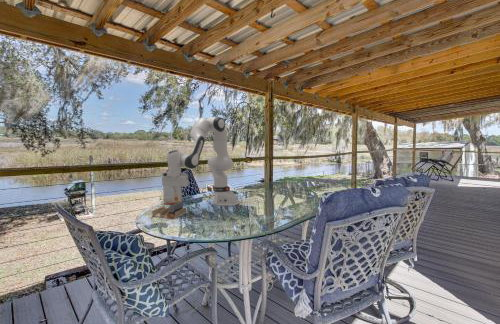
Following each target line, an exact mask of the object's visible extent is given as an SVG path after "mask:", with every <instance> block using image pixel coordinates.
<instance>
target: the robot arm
mask: <svg viewBox="0 0 500 324" xmlns="http://www.w3.org/2000/svg"><path fill="white" fill-rule="evenodd" d="M208 132H213V151H214V152H215V154H216V156H212V157H211V156H210V158H208V160H207V166H208V168H210V170H211V172H212V173H211V174H212V176H213V177H212V178H213V193H214V194H213V202H212V204H213V205H215V206H219V207H220V206H223V207H224V206H225V207H228V206H229V207H231V206H237V205H239V204H240V200H238V197H237V195H236V194H235V193H234V192H232V191H231V186H228V176H227V174H225V171H229V170H231V169H232V168H233V165H234V161H233V160H232V158H231V157H230V154H229V152H228V135H227V134H228V133H227V129H226V122H225V119H224V118H223V117H220V116H211V117H206V118H204V117H199V119H197V120H196V122H195V124H194V125H193V127H192V129H191V131H190V133H189V134H190V135H189V137H190V139H191V140H192V141H193V142H194V146H193V148H192V152H191V153H189V154H187V153H183V152H181V151H180V150H178V149H176V150H175V149H174V150H170V151H168V153H167V166H168V169H167V171H165V172H163V173H162V174H161V176H162V177H161V185H162V187H163V186H172V189H173V190H174V192H176V193H178V190H179V188H180V187H181V188H182V187H184V188H185V187H189V186H190V182H189V175H188V174H187V173H185V172H184V173H182V168H187V169H190V170H193V169H197V167H198V165H199V163H200V159H201V154H202V153H203V152H202V151H203V148H204V145H205V141H206V140H205V137H206V135H207V134H208ZM175 186H176V188H177V189H175Z"/></svg>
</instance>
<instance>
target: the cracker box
mask: <svg viewBox="0 0 500 324" xmlns="http://www.w3.org/2000/svg"><path fill="white" fill-rule="evenodd" d="M175 189H177V188H176V186H175ZM162 191H163V204H164V205H173V204H176V203H178V202H183V194H182V193H183V191H182V187H180V188H179V190H178V193H176V192H174V190H173V189H172V186H163V185H162Z"/></svg>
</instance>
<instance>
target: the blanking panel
mask: <svg viewBox="0 0 500 324" xmlns="http://www.w3.org/2000/svg"><path fill="white" fill-rule="evenodd" d="M183 203H184V202H183V201H182V202H178V203H176V204H170V205H169V207H170V214H174V212H176V211H178V210H180V209H182V208H184V205H183ZM174 216H175V215H174Z"/></svg>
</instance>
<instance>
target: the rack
mask: <svg viewBox="0 0 500 324" xmlns="http://www.w3.org/2000/svg"><path fill="white" fill-rule="evenodd" d="M187 213H188V211H187V207H184V206H183V208H182V209H180V210H178V211H176V212H174V214H170V206H169V207H167V208H166V206H165V205H163V206H160V207H159V208H156V209H154V210H152V212H151V214H152V215H151V218H159V219H162V218H164V219H168V220H173V219H177V218H179V217H180V216H183V215H185V214H187ZM174 215H175V216H174Z"/></svg>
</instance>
